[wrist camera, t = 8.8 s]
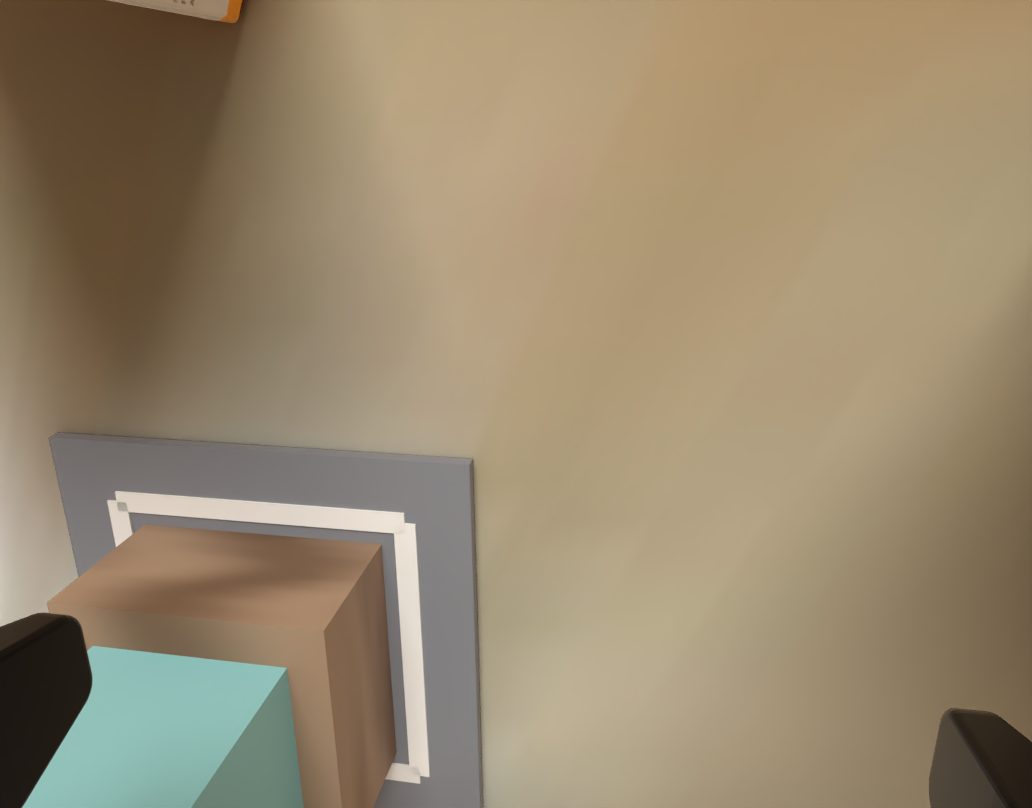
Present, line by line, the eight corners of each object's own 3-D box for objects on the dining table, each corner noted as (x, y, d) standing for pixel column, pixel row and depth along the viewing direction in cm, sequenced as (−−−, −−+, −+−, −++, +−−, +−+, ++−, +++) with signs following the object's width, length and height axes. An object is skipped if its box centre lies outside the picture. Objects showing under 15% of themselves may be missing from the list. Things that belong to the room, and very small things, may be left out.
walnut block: (381, 543, 23) (323, 631, 19) (396, 752, 25) (348, 866, 21) (145, 524, 24) (46, 602, 20) (180, 724, 26) (99, 828, 22)
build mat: (472, 459, 22) (468, 466, 21) (483, 818, 26) (480, 830, 25) (58, 432, 24) (46, 438, 23) (128, 769, 28) (119, 780, 27)
